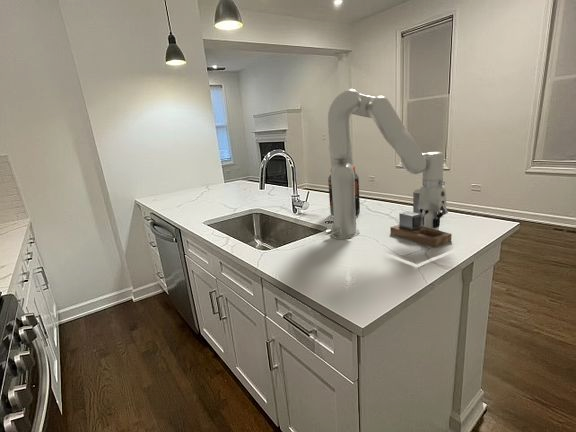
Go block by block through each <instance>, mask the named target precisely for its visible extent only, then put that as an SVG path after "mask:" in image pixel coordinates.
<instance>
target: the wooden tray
mask: <svg viewBox="0 0 576 432" xmlns="http://www.w3.org/2000/svg"><path fill="white" fill-rule="evenodd" d="M390 235H392V236H395V237H399V238H401V239H404V240H408V241H412V242H415V243H418V244H419V245H423V246H424V245H425V246H428V247H430V248H434V249H436V248H437V247H440V246H443V245H446V244H448V243H451V242H452V236H453V234H452V233H450V232H446V231H441V230H434V229H431V228H427V227H424V225H421V226H420V229H418V230H415V231H409V230H406V229H402V228H399V224H397V225H393V226H390Z"/></svg>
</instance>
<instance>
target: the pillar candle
mask: <svg viewBox="0 0 576 432" xmlns="http://www.w3.org/2000/svg"><path fill="white" fill-rule="evenodd" d="M420 189H421V188H418V189H415V190H413V191H412V196H413V197H412V198H413V199H412V202H413V204H412V210H413V211H412V212H414V213H418V214H420V216H421V221H423V216H422V213H421V212H420V210H419V209H418V208H417V205H418V204H419V195H420Z"/></svg>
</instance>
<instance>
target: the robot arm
mask: <svg viewBox="0 0 576 432" xmlns="http://www.w3.org/2000/svg"><path fill="white" fill-rule="evenodd" d="M351 115H355V116H360V117H364V118H369V119H372V121H373V123H375V126H376V127H377V129H378V130H379V132H380V133H381V135H382V136H383V138H384V140H385V142H386V143H387V144H389V145H390V146H391V147H392V148H393V150H394V151H395V153H396V154H397V156H398V157H399V158H400V160H401V166H402V168H403V169H404V170H406V171H407V172H409V173H410V174H413V175H419V174H421V173H422V176H421V177H422V185H421V186H420V188H419V189H420V195H419V204H418V205H417V208H418V209H419V210H420V212H421V213H422V216H423V220H422V226H424V215H425V214H427V213H429V211H434V217H435V219H433V228H437V227H439V228H440V224H441V218H442V217H444V215H447V214H448V213H449V211H448V209H447V193H446V188H445V186H444V185H445V184H446V182H445V181H444V159H445V156H444V152H441V151H429V152H424V153H423V152H422V150H421V149H420V147H419V145H418V144H417V142H416V140H414V138H413V137H412V135H411V134H410V132H409V131H408V129H407V128H406V126H405V124H404V123H403V121H402V120H401V119H400V117H399V114H397V112H396V110H395V108H394V107H393V105H392V104H391V102H390V101H389V99H388V98H387V97H386V96H384V95H377V96H373V95H372V96H371V95H366V94H362V93H360V92H359V91H357V90H356V89H353V88H348V89H346V90H344V91H342V92H341V93H340V94H338V95H337V96H336V97H335V98H334V99H333V101H332V103H331V104H330V105H329V109H328V113H327V128H328V130H327V132H328V133H327V134H328V141H329V143H328V151H329V155H330V175H331V185H332V199H333V215H334V216H333V225H332V226H331V229H327V230H325V232H324V233H325V235H326V236H329V235H330V236H331V237H332V238H334V239H337V240H351V239H352V238H354V237H357V236H359V235H360V234H361V232H360V230H359V229H357V216H356V209H355V175H354V170H353V166H354V164H353V151H352V149H353V145H352V141H351V134H350V133H351V131H350V116H351ZM331 169H332V171H331Z"/></svg>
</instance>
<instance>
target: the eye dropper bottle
mask: <svg viewBox="0 0 576 432" xmlns="http://www.w3.org/2000/svg"><path fill="white" fill-rule="evenodd" d="M433 219H435V217H434V211H429V213H427V214H425V215H424V225H423V227H427V228H431V229H434V230H438V231H440V229H439V228H440V226H439V227H437V228H433Z"/></svg>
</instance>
